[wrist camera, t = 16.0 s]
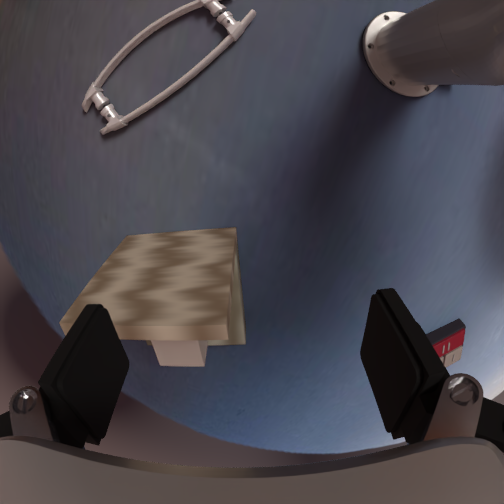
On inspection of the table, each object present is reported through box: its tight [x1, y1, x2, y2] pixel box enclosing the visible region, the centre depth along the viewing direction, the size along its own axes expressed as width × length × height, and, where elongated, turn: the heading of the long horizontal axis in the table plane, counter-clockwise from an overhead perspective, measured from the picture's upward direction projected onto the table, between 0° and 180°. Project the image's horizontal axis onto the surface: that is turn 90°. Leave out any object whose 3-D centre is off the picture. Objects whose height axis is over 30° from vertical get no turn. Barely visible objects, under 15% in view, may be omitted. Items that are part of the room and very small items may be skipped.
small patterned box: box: [426, 319, 466, 368], centre depth 52 cm, size 11×4×15 cm
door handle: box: [82, 0, 256, 135], centre depth 30 cm, size 3×10×25 cm
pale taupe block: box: [151, 340, 208, 366], centre depth 38 cm, size 6×13×8 cm, turn 4°
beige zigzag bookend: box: [59, 227, 246, 345], centre depth 36 cm, size 16×18×20 cm
